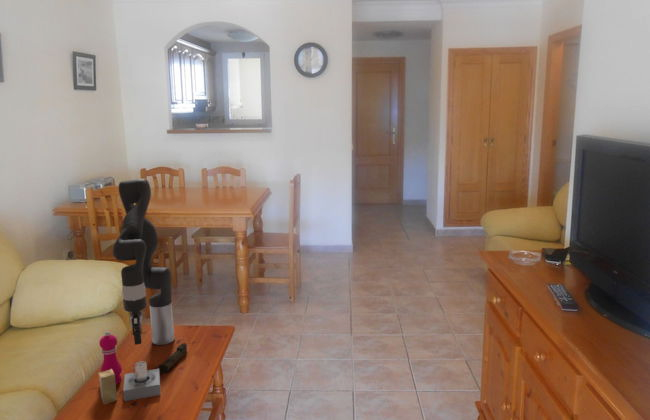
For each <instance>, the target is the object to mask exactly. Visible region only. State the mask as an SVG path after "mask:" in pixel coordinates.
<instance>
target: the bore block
mask: <svg viewBox="0 0 650 420" xmlns="http://www.w3.org/2000/svg"><path fill="white" fill-rule="evenodd" d="M160 374H161V373H160V372H159V369H158V368H155V369H147V376H148V381H146V382H144V383H136V375H135V372H130V373H125V374H124V377H123V378H124V380H123V389H122V392H123V402H129V401H134V400H139V399H146V398H150V397H157V396H161V375H160Z"/></svg>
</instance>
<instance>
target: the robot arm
mask: <svg viewBox="0 0 650 420" xmlns="http://www.w3.org/2000/svg"><path fill="white" fill-rule="evenodd" d="M118 194H119V196H120V200H121V203H122V205H123V208H124V211H125V216H124V217H123V219H122V223H121V224H122V225H121V231H120V233H119V236H118V237H117V239H116V240H115V242H114V245H113V248H112V249H113V250H112V255H113V257H114V258H115V259H116V260H117V261H119V262H124V261H135V263H133V264H130V265H127V266H124V267H122V269H121V271H120V273H121V283H122V290H121V292H122V302H123V310H124V311H125V312H127V313H129V312H130V315H129V319H130V323H131V324H130V327H131V330H132V335H133V340H134V345H141V344H142V334H143V333H142V332H143V329H142V327H143V310H145V309H146V308H147V306H149V316H150V328H151V340H152V344H154V345H157V346H163V345H164V346H165V345H168V344H170V343H172V342H173V341H174V340H175V329H174V327H175V326H174V315H173V303H172V297H173V296H172V295H173V294H172V292H173V291H172V290H173V289H172V272H171V270H170V268H169V267H153V265H152V258H153V256H154V254H155V252H156V250H157V248H158V244H159V238H158V235H157V230H156V227H155V226H154V225H153V223H152V222H151V221H150V220H149V219H147V218H146V214H147V210H148V209H149V208H148V207H149V204H150V201H151V196H152V190H151V185H150V183H149V180H147V178H136V179H126V180H122V181H120V182H119V184H118ZM146 289H148V290H149V289H150V290H160V292H159V293H157V294H154V295H151V296H150V297H149V299H148V301H147V294H146ZM147 303H148V304H147Z"/></svg>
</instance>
